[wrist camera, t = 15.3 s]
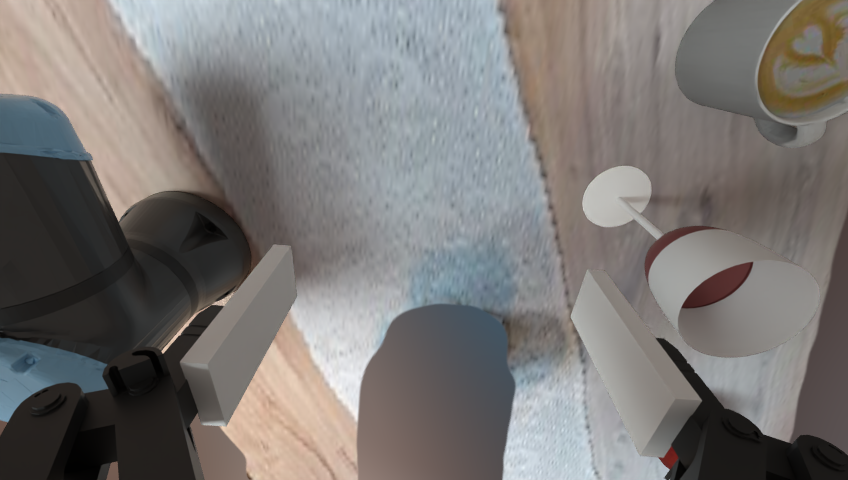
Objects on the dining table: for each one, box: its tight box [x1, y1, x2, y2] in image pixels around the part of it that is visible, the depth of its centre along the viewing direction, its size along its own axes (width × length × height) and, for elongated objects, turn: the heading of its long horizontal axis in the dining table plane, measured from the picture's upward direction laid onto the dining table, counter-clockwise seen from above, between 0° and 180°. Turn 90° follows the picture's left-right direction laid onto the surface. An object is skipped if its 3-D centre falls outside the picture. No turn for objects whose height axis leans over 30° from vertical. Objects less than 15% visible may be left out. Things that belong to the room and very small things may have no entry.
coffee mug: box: [675, 0, 848, 148], centre depth 30 cm, size 13×10×10 cm
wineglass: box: [582, 166, 820, 357], centre depth 32 cm, size 8×9×20 cm
